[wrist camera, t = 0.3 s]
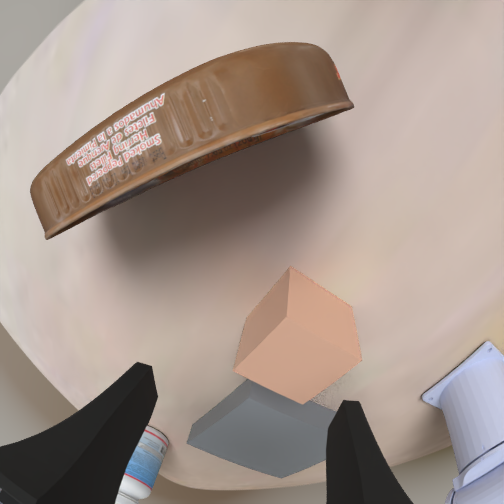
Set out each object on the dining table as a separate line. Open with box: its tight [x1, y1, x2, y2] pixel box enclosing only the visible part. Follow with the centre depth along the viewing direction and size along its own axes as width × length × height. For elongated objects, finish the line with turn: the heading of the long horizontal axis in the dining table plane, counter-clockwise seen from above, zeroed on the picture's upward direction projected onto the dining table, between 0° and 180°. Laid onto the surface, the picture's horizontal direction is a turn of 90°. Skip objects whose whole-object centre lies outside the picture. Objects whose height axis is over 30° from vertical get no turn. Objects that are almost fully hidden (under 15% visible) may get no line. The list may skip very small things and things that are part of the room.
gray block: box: [187, 379, 337, 478], centre depth 25 cm, size 12×12×3 cm
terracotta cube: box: [233, 266, 362, 405], centre depth 18 cm, size 5×5×5 cm
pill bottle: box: [115, 425, 168, 504], centre depth 26 cm, size 6×6×11 cm
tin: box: [30, 42, 354, 240], centre depth 12 cm, size 15×3×8 cm, turn 112°
